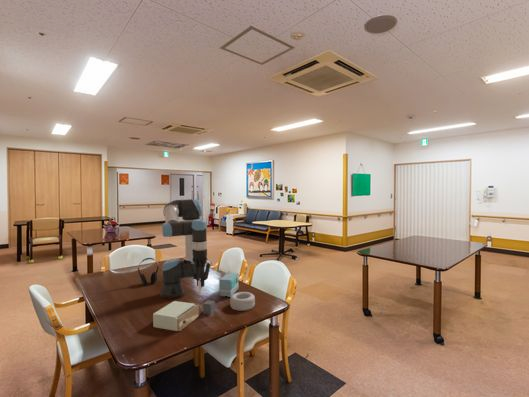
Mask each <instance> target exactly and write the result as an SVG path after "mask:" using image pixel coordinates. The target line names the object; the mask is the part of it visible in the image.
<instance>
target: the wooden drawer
mask: <svg viewBox="0 0 529 397" xmlns="http://www.w3.org/2000/svg"><path fill="white" fill-rule="evenodd" d="M195 305H196V306H194V307H193V308H191V309H190V310H189V311H186V312H185V313H184V314H183V315H182V316H180V317H179V318H178V331H177V332H181V331H182V330H183V329H185V328H186V327H187V326H188V325H189V324H190V323H192V322H193V321H195V320H196V319H197V318H199V317H200V306H199V305H200V304H195Z"/></svg>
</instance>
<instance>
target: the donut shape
mask: <svg viewBox="0 0 529 397" xmlns="http://www.w3.org/2000/svg"><path fill="white" fill-rule="evenodd" d="M229 301H230V302H229V304H230V305H229V306H230V308H231V309H232V310H234V311H238V312H239V311H240V312H243V311H244V312H245V311H250V310H252V309H253V308H254V307H255V305H256V297H255V294H253V293H252V292H249V291H239V292H235V293H234V294H233V295H232V296H231V297H230V298H229Z"/></svg>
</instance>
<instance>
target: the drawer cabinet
mask: <svg viewBox="0 0 529 397" xmlns="http://www.w3.org/2000/svg"><path fill="white" fill-rule="evenodd" d="M196 305H197V304H196V303H193V302H184V301H177V300H174V301H172V302H170V303H168V304H167V305H165V306H164V307H162V308H160V309H159V310H157V311H155V312H154V313H153V314H152V319H153V320H152V322H153V328H157V329H164V330H168V331H175V332H179V331H178V317H179V316H180V315H182V314H183V313H185V312H186V311H189V310H190V309H191V308H193V307H194V306H196Z"/></svg>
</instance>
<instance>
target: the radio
mask: <svg viewBox="0 0 529 397" xmlns="http://www.w3.org/2000/svg"><path fill="white" fill-rule="evenodd" d="M239 280H240V279H239V273H238V272H227V273H225V274H224V275H222V277H221V278H220V279H219V281H218V282H219V283H218V284H219V296H220V297H225V296H227V297H228V298H229V297H231V296H232V295H233V294H235V293H237V291H238V290H239V285H240V284H239Z"/></svg>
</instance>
